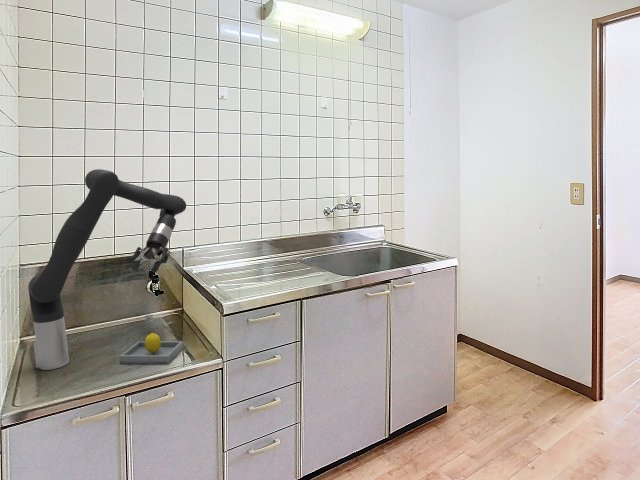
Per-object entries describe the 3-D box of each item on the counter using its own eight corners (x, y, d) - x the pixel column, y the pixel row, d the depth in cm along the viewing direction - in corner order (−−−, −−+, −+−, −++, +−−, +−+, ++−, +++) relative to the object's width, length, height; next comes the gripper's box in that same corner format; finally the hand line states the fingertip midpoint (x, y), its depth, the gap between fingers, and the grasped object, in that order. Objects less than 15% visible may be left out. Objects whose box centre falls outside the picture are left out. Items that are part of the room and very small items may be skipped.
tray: (119, 364, 152) (119, 356, 151) (139, 348, 166) (138, 341, 165) (168, 364, 150) (167, 356, 150) (183, 348, 164) (183, 341, 164)
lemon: (155, 357, 155) (154, 336, 154) (142, 355, 156) (140, 335, 155) (164, 351, 160) (163, 330, 159) (151, 350, 161) (149, 329, 160)
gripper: (139, 231, 171) (122, 265, 161) (170, 231, 167) (155, 266, 158) (149, 242, 177) (133, 275, 167) (179, 243, 173) (164, 276, 164)
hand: (143, 270), depth 163 cm, fingers open, 8 cm apart
